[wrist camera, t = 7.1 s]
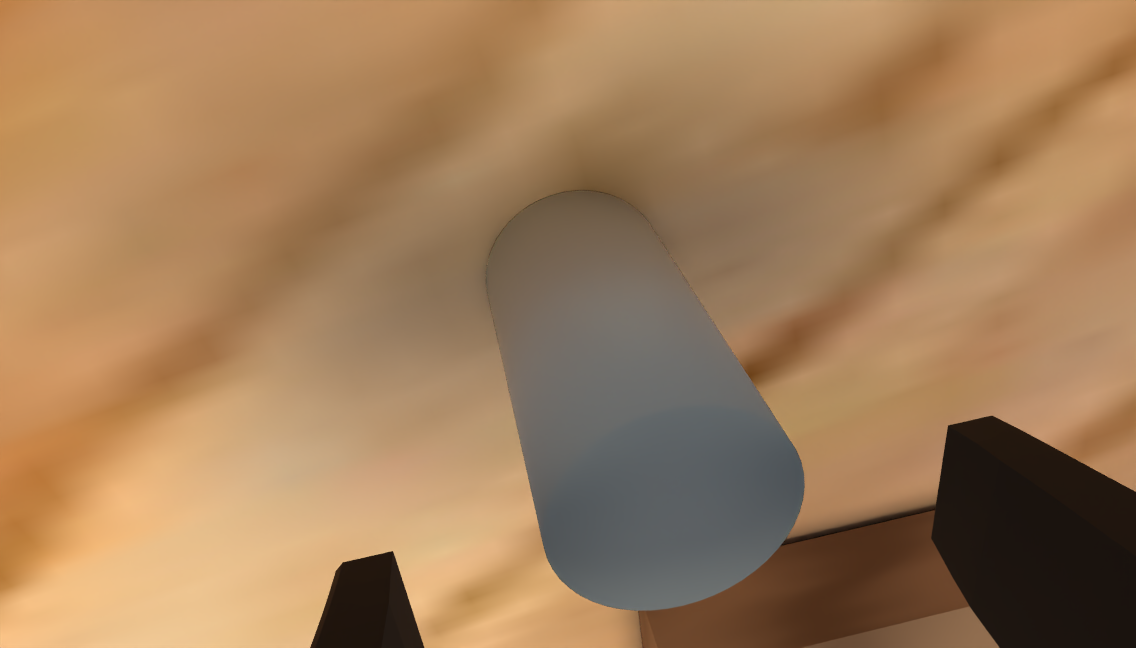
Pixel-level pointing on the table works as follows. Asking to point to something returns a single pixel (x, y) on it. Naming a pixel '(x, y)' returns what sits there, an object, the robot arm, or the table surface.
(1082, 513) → the robot arm
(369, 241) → the table surface
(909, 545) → the brown square frame
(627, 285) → the dowel
